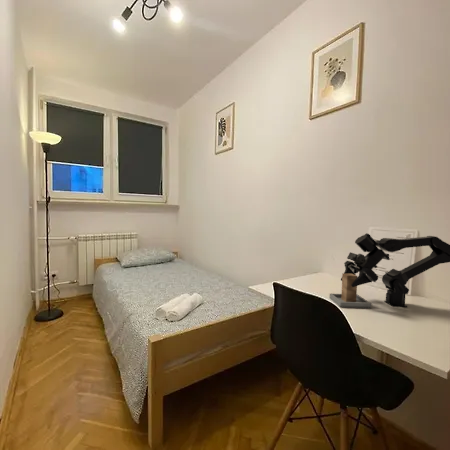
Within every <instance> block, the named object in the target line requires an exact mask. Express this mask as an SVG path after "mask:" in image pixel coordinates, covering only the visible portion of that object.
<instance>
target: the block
mask: <svg viewBox="0 0 450 450" xmlns="http://www.w3.org/2000/svg"><path fill="white" fill-rule="evenodd" d="M357 277H358V275H354V274H346V273H344V272H343V273H342V275H341V278H342V281H341V293H340V294H341V299H342V300H343V301H345V302H356V295H358V292H357V291H358V286H355V287H352V286H351V284H352V283H353V282H354V281H355V280H356V278H357Z"/></svg>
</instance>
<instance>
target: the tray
mask: <svg viewBox="0 0 450 450" xmlns="http://www.w3.org/2000/svg"><path fill="white" fill-rule="evenodd" d="M341 294H342V293H329V299H330V300H331V301H332V302H333V303H334V304H336V305H337V306H338V307H339V308H341V309H342V308H347V309H372V303H371V302H370V301H368V300H367V299H365V298H364V297H362V296H361V295H359V294H357V295H356V302H345V301H343V300H342V299H341Z"/></svg>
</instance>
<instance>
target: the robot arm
mask: <svg viewBox="0 0 450 450" xmlns="http://www.w3.org/2000/svg"><path fill="white" fill-rule="evenodd" d="M354 244H356V245H357V247H359V248H360V250H362V251H363V252H364V253H367V254H366V255H365V254H363V253H358V254H357V253H355V252H354V253H353V252H349V253H348V255H347V257H346V259H348V260H345V262H344V263H343V264H344V267H345V271H344V272H343V273H346V274H354V275H356V274H359V275H356V276H357V278H356V280H355V281H354V282H353V283H352V284H351V286H352V287H355V286H357V287H358V286H361V285H365V284H368V283H376V282H377V281H378V280H379V276H378V274H377V273H375V271H374V270H373V268H374V269H377V268H378V264H379V263H380V262H381V261H382V260H386V261H390V260H391V259H390V254H389V253H395V252H399V251H401V250H403V249H410V248H418V247H429V248H430V249H431V250H432V251H431V253H430V254H429V255H428V256H426V257H424V258H422V259H420V260H418V261H416V262H415V263H413V264H410V265H408V266H406V267H404V268H402V269H400V270H398V269H395V268H392V269H390V270H389V271H387V272H386V271H385V272H384V273H385V274H383V275H382V278H381V282H382V284H383V285H384V287H385V288H386V289H387V290H386V293H385V300H384V302H385V303H386V304H387V305H389V306H391V307H396V308H398V307H399V308H400V307H401V308H408V305H407V304H406V295H408V293H409V292H410V288H408V287H407V286H406V285H407V283H408V282H409V281H410V280H411V279H412V278H414V277H416V276H418V275H421V274H422V273H424V272H427V271H429V270H430V269H432V268H434V267H436V266H437V265H440V264H447V263H450V243H447V242H446V241H444V240H442V239H441V238H439V237H438V236H434V235H427V236H420V237H408V238H394V237H392V238H391V237H382V238H380V240H375V239H374V238H373V237H372V235H371V234H370V233H365V234H362V235H361V236H360V237H357V239H355V241H354ZM386 252H388V253H386ZM340 281H341V282H342V277H341V278H340Z"/></svg>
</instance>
